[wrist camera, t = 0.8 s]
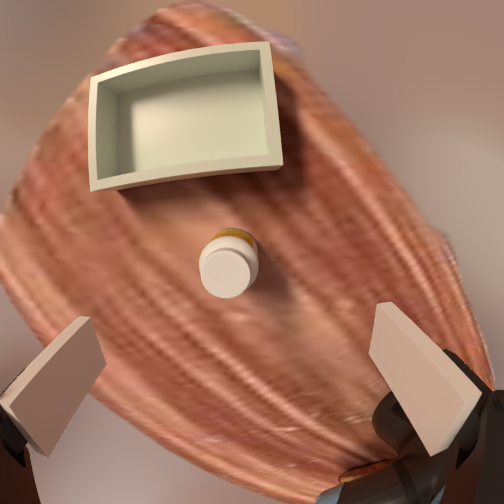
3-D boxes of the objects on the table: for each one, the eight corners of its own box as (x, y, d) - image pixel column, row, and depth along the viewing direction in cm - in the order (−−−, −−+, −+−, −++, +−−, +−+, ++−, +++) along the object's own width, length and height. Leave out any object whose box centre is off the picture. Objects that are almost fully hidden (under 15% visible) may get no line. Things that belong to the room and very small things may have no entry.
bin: (276, 170, 29) (283, 165, 23) (116, 190, 29) (90, 191, 23) (266, 66, 26) (269, 41, 20) (114, 92, 26) (91, 77, 20)
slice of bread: (418, 457, 43) (423, 466, 39) (360, 490, 45) (363, 499, 42) (401, 437, 40) (407, 449, 36) (331, 476, 42) (334, 488, 39)
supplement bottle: (265, 261, 31) (271, 291, 22) (223, 280, 31) (212, 317, 22) (244, 218, 30) (241, 230, 20) (201, 239, 30) (180, 260, 21)
